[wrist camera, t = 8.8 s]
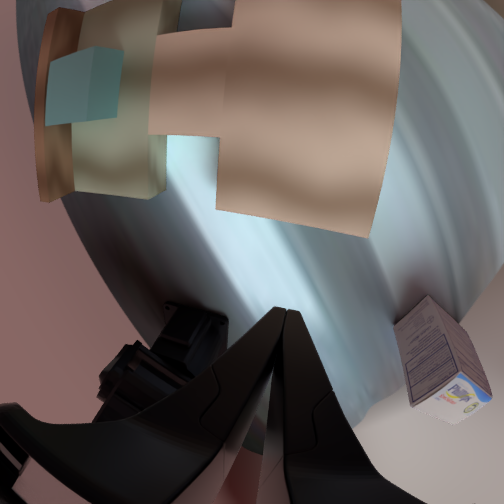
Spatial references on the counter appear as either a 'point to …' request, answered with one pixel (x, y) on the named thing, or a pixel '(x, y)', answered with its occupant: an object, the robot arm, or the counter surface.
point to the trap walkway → (236, 105)
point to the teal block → (84, 86)
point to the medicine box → (440, 364)
